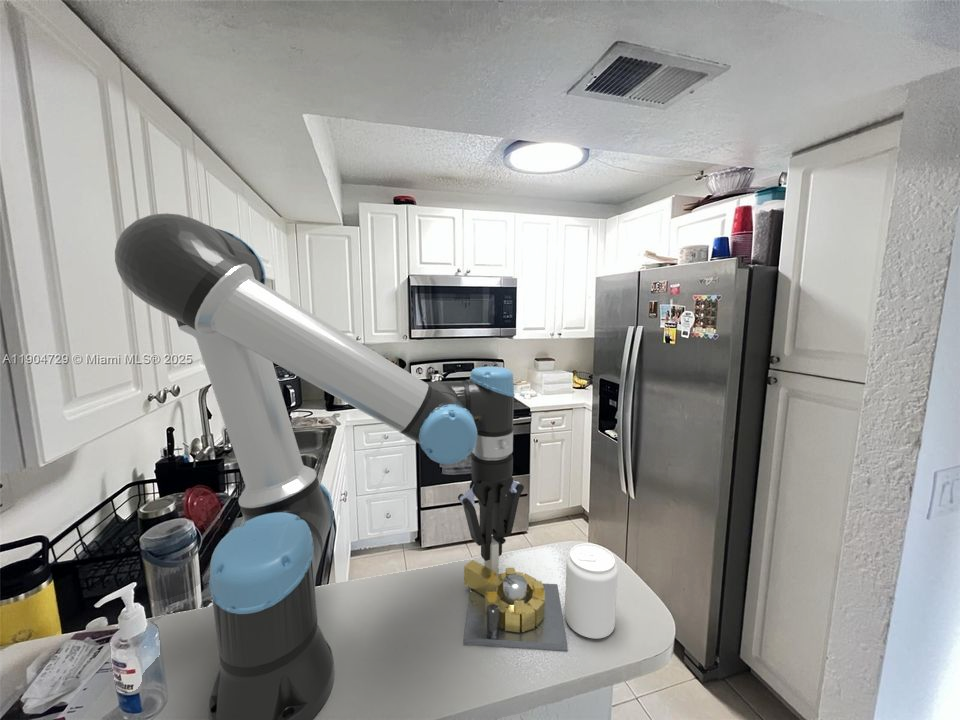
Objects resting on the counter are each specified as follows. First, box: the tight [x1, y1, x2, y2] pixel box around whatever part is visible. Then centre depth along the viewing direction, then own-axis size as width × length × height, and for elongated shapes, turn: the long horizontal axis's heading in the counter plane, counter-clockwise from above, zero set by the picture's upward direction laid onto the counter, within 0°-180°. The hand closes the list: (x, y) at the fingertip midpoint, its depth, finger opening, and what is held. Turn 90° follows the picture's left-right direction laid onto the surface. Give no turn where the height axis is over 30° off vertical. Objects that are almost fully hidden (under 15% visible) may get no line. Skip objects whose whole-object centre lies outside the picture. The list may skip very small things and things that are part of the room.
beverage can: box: [564, 542, 619, 640], centre depth 65 cm, size 8×8×12 cm
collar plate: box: [463, 574, 568, 652], centre depth 67 cm, size 16×13×6 cm
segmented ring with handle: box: [463, 559, 545, 632], centre depth 69 cm, size 16×10×4 cm, turn 51°
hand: (491, 572), depth 74 cm, fingers closed
